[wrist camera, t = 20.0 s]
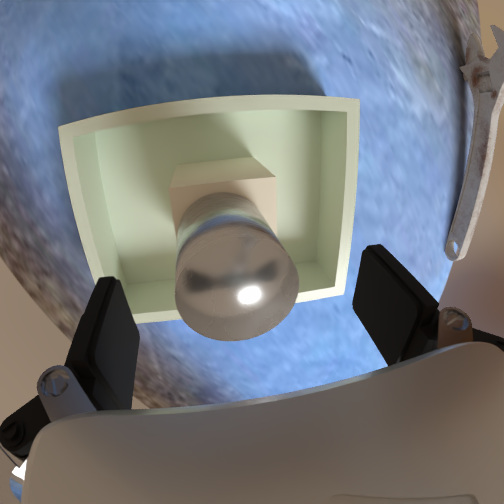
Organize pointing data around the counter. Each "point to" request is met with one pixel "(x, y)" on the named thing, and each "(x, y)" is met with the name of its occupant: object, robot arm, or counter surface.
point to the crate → (209, 149)
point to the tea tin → (231, 270)
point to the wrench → (478, 137)
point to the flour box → (224, 185)
